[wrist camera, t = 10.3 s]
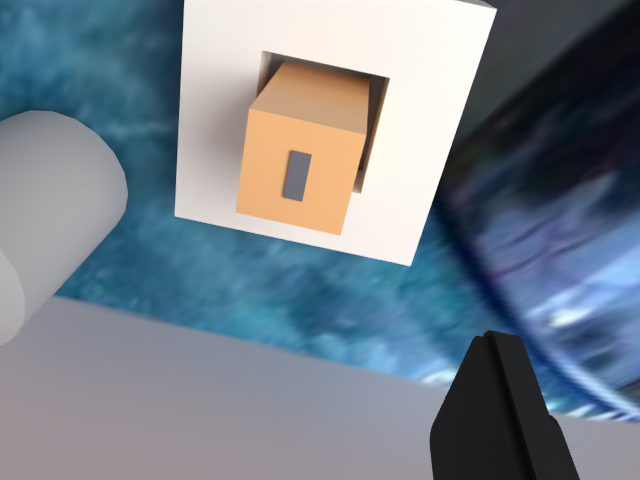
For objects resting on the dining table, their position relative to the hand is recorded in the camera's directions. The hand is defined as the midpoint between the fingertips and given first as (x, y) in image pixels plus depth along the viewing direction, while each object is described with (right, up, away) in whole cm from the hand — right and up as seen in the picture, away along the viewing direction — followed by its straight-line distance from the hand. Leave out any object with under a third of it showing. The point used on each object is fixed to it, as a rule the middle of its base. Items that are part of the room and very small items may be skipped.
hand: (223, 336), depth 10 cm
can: (-12, +6, +19) cm, 23 cm away
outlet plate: (+2, +8, +15) cm, 18 cm away
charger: (+2, +8, +15) cm, 17 cm away
